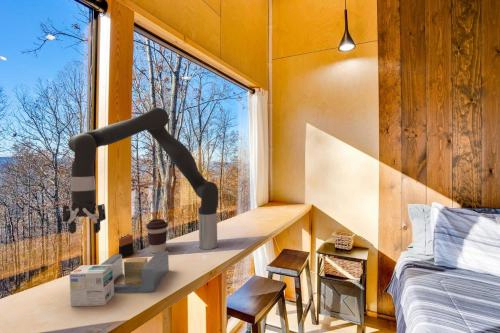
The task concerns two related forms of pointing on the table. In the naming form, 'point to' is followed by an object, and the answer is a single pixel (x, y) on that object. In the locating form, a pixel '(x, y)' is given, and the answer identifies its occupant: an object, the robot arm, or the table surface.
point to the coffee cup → (157, 235)
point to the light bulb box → (91, 285)
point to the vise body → (148, 275)
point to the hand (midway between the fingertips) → (84, 232)
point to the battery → (126, 245)
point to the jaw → (115, 265)
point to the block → (134, 270)
